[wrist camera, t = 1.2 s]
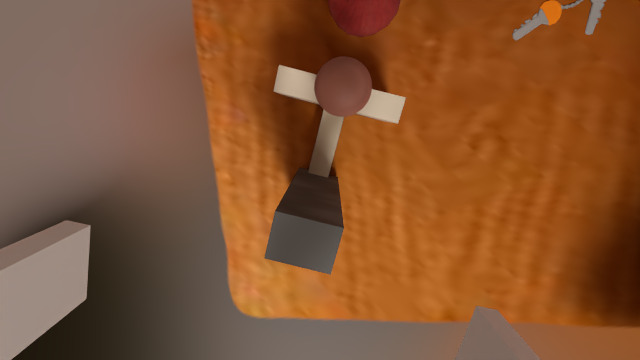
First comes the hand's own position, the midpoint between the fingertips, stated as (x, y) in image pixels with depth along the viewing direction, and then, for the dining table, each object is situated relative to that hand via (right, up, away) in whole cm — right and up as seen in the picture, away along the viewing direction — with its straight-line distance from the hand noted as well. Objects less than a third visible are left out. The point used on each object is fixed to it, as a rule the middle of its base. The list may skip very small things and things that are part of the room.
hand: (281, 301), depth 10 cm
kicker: (+2, +8, +20) cm, 21 cm away
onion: (+5, +20, +18) cm, 27 cm away
